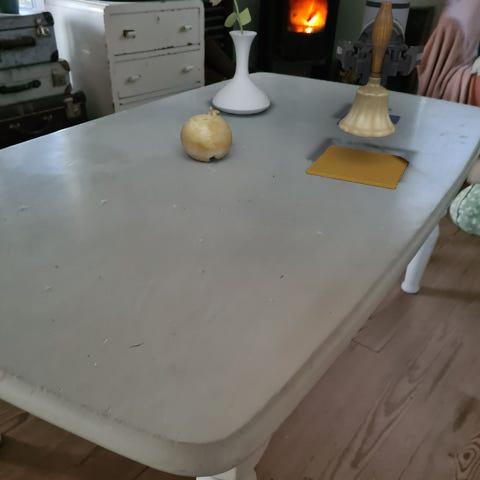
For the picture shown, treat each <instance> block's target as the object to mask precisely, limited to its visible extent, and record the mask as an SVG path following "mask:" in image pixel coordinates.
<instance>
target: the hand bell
mask: <svg viewBox="0 0 480 480" xmlns="http://www.w3.org/2000/svg"><path fill="white" fill-rule="evenodd" d="M392 30H393V13H392V2H388V1H383V2H382V3H381V6H380V9H379V11H378V13H377V16H376V18H375V21H374V24H373V30H372V51H373V55H372V62H371V67H370V73H369V78H368V82H367V85H366V84H363V85H361V86H359V87H358V88H357V89H356V93H355V96H354V100H353V103H352V105H351V107H350V109H349V110H350V111H349V110H348V111H349V113H348V114H347V115H346V117H345V118H343V119H342V120H341V121H340V122H339V124H338V125H337V127H338V129H339V130H340V131H342V132H343V133H346V134H349V135H353V136H356V137H360V138H361V137H362V138H386V137H390V136H392V135H394V134H395V133H396V126H395V124H393V123H392V122H391V120H390V117H389V115H390V114H389V96H390V95H389V94H390V93H389V90H388V89H387V88H386V87H385V86H380V81H381V74H382V73H381V72H382V67H383V59H384V55H385V52H386V50H387V47H388V45H389V43H390V39H391V35H392Z"/></svg>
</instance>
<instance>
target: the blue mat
mask: <svg viewBox="0 0 480 480" xmlns="http://www.w3.org/2000/svg"><path fill="white" fill-rule="evenodd" d="M349 111H350V109H349V110H348V111H347V112H346V113H345V114H344V115H343V116H342V117H341V118H340V119H339V120H337V122H336V125H337V126H338V124H339V122H340V121H341V120H342V119H343V118H345V117H346V115H347V114H348V113H349ZM389 117H390V120H391V122H392V123H393V124H394V125H397V124H398V122H399V121H400V120H401V116H400V115H395V114H389Z"/></svg>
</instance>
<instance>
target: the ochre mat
mask: <svg viewBox="0 0 480 480" xmlns="http://www.w3.org/2000/svg"><path fill="white" fill-rule="evenodd" d="M409 163H410V161H409V160H407V159H406V158H404V157H402V156H401V155H395V154H389V153H382V152H376V151H370V150H364V149H358V148H351V147H347V146H339V145H332V144H331V145H330V146H329V147H328V148H327V149H326V150H325V151H323V153H322V154H321V155H320V156H319V157H318V158H317V159H316V160H315V161H314V162H313V163H312V164H311V165H310V166H309V167H308V168H307V169H306V174H307V175H313V176H319V177H323V178H324V177H325V178H330V179H335V180H340V181H346V182H352V183H357V184H363V185H368V186H373V187H379V188H385V189H391V190H396V188H397V186H398V184H399V182H400V181H401V178H402V176H403V175H404V173H405V171H406V169H407V167H408V166H409Z"/></svg>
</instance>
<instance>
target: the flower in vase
mask: <svg viewBox="0 0 480 480" xmlns="http://www.w3.org/2000/svg"><path fill="white" fill-rule="evenodd" d="M221 2H222V0H209V3H211V4H212V7H214V6H217V5H218V4H219V3H221ZM233 3H234V5H235V9H236V12H232V13H231V14H230V15H228V16H227V18H226V20H225V22H224V27H226V28H231V27H233V25H234V24H235V23H236V21H237V22H238V23H239V24H238V25H239V28H240V30H231V31H229V35H230V37H231V39H232V41H233V44H234V48H235V49H234V50H235V59H236V60H235V62H236V65H235V73H234V76H233V77H232V79H231V80H230V81H229V82H228V83H227V84H226V85H224V86H223V87H222V88H220V90H218V92H216V94H215V95H214V96H213V97H212V105H213V106H214V108H216V110H218V111H221V112H224V113H227V114H228V113H229V114H234V115H235V114H236V115H252V114H257V113H260V112H263V111H265V110H267V109H268V108H269V107H270V105H271V100H270V98H269V97H268V95H267V94H266V92H264V91H263V90H262V89H261V88H260V87H259V86H258V85H257V84H256V83H255V82H254V81H253V79H252V78H251V76H250V73H249V58H250V57H249V56H250V51H251V46H252V43H253V41H254V40H255V37H256V36H257V34H258V33H257V32H256V31H252V30H244V29H243V26H245V25H247V24H249V23H250V22H251V21H252V18H251V17H252V16H251V14H250V11H249V8H248V7H246V8H245V9H244V10H243V11H241V12H240V11H239V7H238V3H237V0H233Z"/></svg>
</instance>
